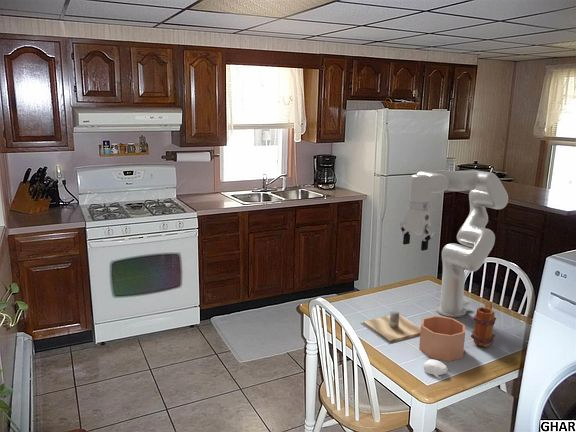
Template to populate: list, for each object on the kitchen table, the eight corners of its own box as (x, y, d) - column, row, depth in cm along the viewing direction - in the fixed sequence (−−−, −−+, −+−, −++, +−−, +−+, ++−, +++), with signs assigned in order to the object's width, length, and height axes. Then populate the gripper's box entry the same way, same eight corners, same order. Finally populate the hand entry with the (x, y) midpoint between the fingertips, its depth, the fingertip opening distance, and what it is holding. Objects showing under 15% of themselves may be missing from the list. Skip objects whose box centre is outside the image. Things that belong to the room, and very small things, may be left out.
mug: (491, 351, 177) (495, 315, 174) (468, 346, 181) (472, 310, 178) (497, 336, 189) (501, 301, 186) (476, 330, 193) (479, 297, 190)
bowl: (441, 336, 189) (443, 313, 186) (472, 354, 175) (474, 330, 173) (411, 344, 182) (412, 320, 180) (439, 364, 168) (442, 338, 166)
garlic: (450, 371, 164) (451, 362, 163) (443, 380, 159) (444, 370, 158) (428, 364, 169) (428, 354, 168) (420, 372, 164) (421, 362, 163)
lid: (397, 315, 206) (398, 301, 204) (425, 333, 190) (426, 317, 189) (363, 323, 199) (364, 308, 197) (389, 342, 183) (390, 326, 181)
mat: (397, 315, 208) (397, 314, 207) (429, 334, 190) (429, 333, 190) (360, 324, 199) (360, 323, 199) (389, 345, 182) (389, 344, 182)
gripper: (442, 208, 180) (438, 251, 184) (409, 201, 195) (406, 240, 198) (428, 210, 176) (424, 254, 180) (395, 202, 191) (393, 243, 195)
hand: (415, 247), depth 189 cm, fingers open, 9 cm apart
